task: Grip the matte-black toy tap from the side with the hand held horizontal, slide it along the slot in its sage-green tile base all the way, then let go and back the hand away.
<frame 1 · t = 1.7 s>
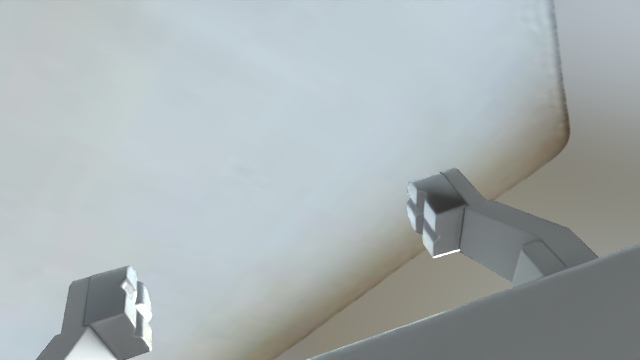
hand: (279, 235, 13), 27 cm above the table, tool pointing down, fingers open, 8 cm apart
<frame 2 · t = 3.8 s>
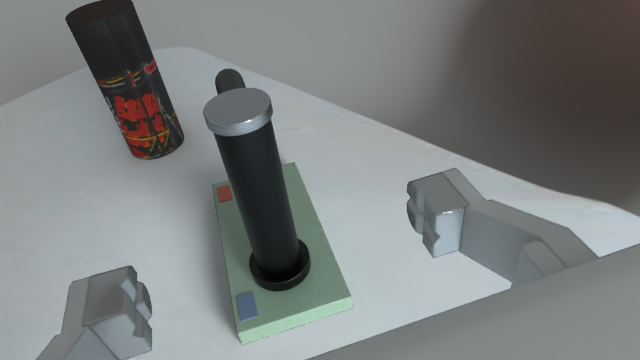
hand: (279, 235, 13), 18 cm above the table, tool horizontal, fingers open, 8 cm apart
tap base: (274, 244, 37), on the table
tap: (255, 176, 30), point 9 cm above the table, slide at 0.0 cm
deodorant: (158, 144, 50), on the table
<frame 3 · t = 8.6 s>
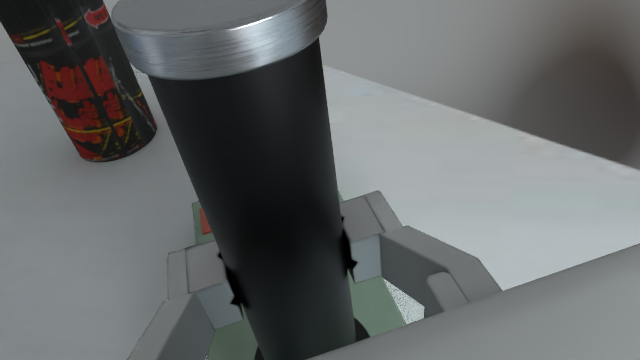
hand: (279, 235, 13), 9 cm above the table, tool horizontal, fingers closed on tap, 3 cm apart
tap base: (298, 311, 21), on the table
tap: (268, 196, 14), point 9 cm above the table, slide at 0.0 cm, touching gripper
deodorant: (119, 139, 34), on the table
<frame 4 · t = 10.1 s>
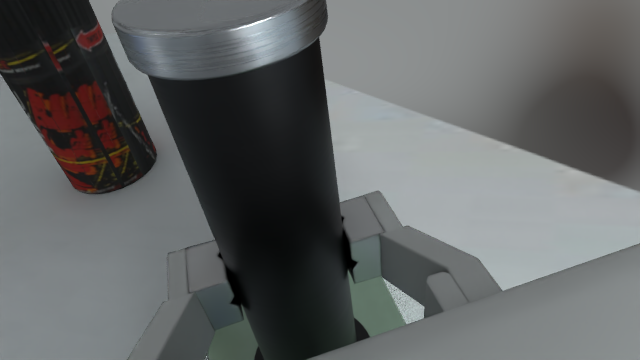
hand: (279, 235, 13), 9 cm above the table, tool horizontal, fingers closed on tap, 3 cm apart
tap: (268, 196, 14), point 9 cm above the table, slide at 3.7 cm, touching gripper
deodorant: (116, 167, 32), on the table
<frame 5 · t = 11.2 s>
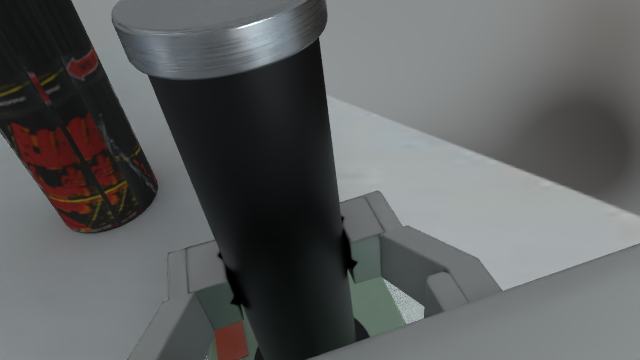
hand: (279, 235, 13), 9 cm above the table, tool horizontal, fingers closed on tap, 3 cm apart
tap: (268, 196, 14), point 9 cm above the table, slide at 7.5 cm, touching gripper
deodorant: (113, 201, 29), on the table
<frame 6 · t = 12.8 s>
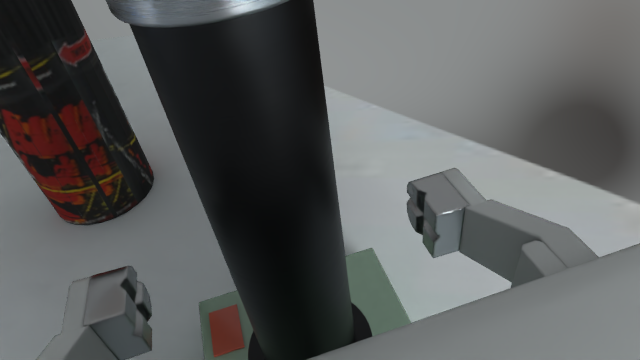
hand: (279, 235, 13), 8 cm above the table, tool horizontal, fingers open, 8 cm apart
tap: (263, 174, 13), point 9 cm above the table, slide at 7.7 cm
deodorant: (108, 192, 28), on the table
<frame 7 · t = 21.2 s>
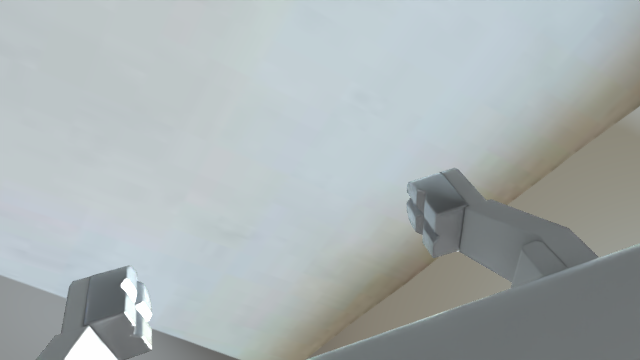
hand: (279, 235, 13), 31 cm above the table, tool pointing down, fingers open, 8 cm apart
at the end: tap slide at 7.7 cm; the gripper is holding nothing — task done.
